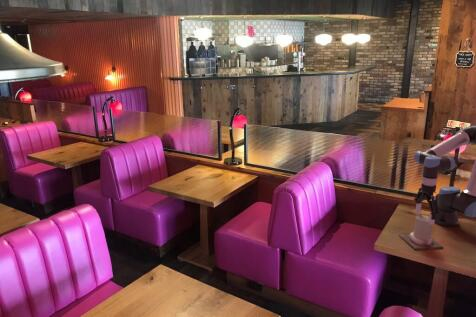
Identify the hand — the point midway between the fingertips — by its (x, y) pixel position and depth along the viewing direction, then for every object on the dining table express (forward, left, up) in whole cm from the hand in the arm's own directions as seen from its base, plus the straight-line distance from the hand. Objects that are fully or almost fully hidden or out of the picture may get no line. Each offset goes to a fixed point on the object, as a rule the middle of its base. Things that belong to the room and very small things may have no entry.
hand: (424, 218), depth 226 cm
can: (0, 0, -11) cm, 11 cm away
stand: (0, 0, -15) cm, 15 cm away
